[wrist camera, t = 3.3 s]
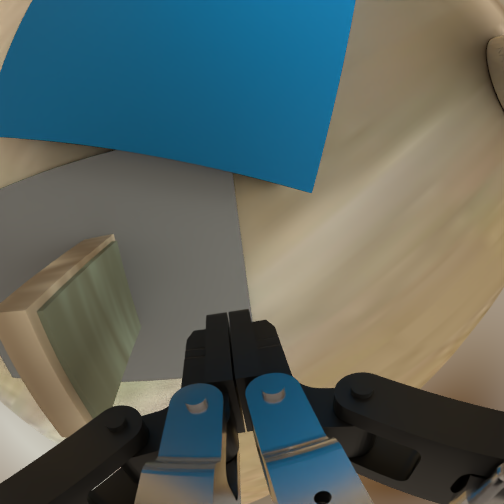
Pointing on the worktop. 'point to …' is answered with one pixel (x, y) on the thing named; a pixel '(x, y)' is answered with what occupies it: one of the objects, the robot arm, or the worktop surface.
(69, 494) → the robot arm
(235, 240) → the mat
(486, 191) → the worktop surface
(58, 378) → the tile
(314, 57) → the book
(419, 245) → the worktop surface
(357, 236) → the worktop surface
